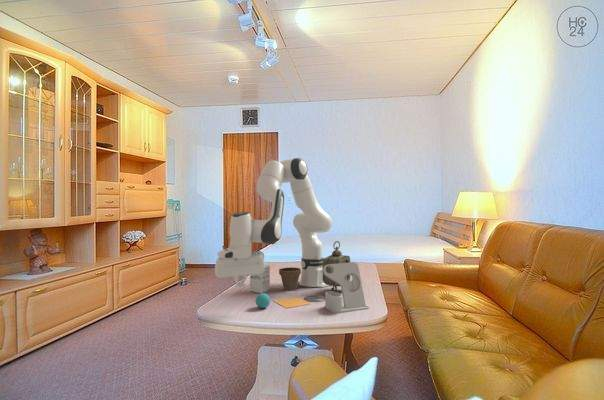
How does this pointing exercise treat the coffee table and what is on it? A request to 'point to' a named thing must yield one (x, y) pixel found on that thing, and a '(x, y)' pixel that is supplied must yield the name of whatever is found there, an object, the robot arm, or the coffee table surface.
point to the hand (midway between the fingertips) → (240, 286)
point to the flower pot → (290, 277)
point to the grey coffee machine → (345, 288)
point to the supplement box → (260, 281)
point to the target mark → (292, 302)
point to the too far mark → (314, 298)
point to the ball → (262, 300)
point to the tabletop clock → (334, 259)
